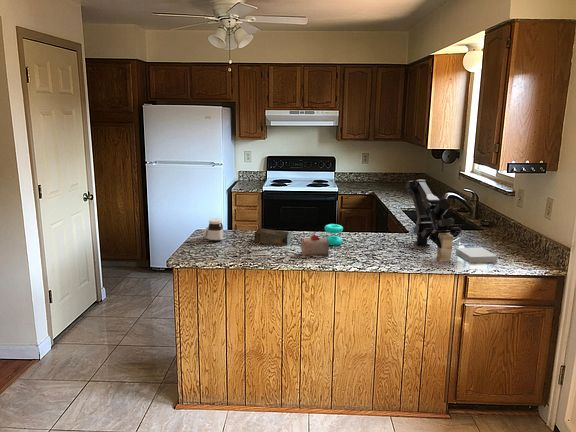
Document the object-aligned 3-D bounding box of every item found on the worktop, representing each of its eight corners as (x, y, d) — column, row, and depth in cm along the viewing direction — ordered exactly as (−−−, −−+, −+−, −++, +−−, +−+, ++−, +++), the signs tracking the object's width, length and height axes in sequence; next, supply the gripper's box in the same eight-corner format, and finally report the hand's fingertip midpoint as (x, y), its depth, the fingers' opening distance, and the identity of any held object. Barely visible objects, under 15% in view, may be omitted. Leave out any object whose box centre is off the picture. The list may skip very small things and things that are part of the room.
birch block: (436, 258, 229) (438, 233, 226) (445, 257, 230) (448, 233, 227) (440, 261, 224) (443, 236, 221) (450, 261, 225) (453, 235, 222)
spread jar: (221, 243, 248) (221, 222, 245) (200, 242, 248) (199, 222, 245) (224, 237, 259) (224, 217, 256) (204, 236, 259) (204, 216, 257)
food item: (302, 257, 228) (303, 238, 225) (300, 252, 235) (300, 233, 233) (329, 256, 229) (330, 237, 227) (326, 251, 237) (326, 233, 235)
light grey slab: (455, 253, 237) (456, 248, 236) (480, 252, 239) (481, 247, 238) (470, 263, 223) (470, 257, 222) (496, 261, 225) (497, 256, 225)
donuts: (330, 222, 255) (346, 225, 249) (330, 239, 258) (345, 243, 252) (321, 226, 247) (337, 229, 242) (320, 243, 250) (336, 247, 244)
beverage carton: (287, 246, 245) (287, 234, 244) (253, 242, 250) (253, 231, 249) (291, 242, 253) (291, 230, 251) (258, 238, 258) (258, 227, 256)
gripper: (426, 212, 224) (434, 240, 216) (461, 211, 227) (471, 239, 219) (418, 223, 233) (425, 251, 226) (452, 223, 236) (460, 250, 228)
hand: (445, 247), depth 224 cm, fingers closed on birch block, 5 cm apart
